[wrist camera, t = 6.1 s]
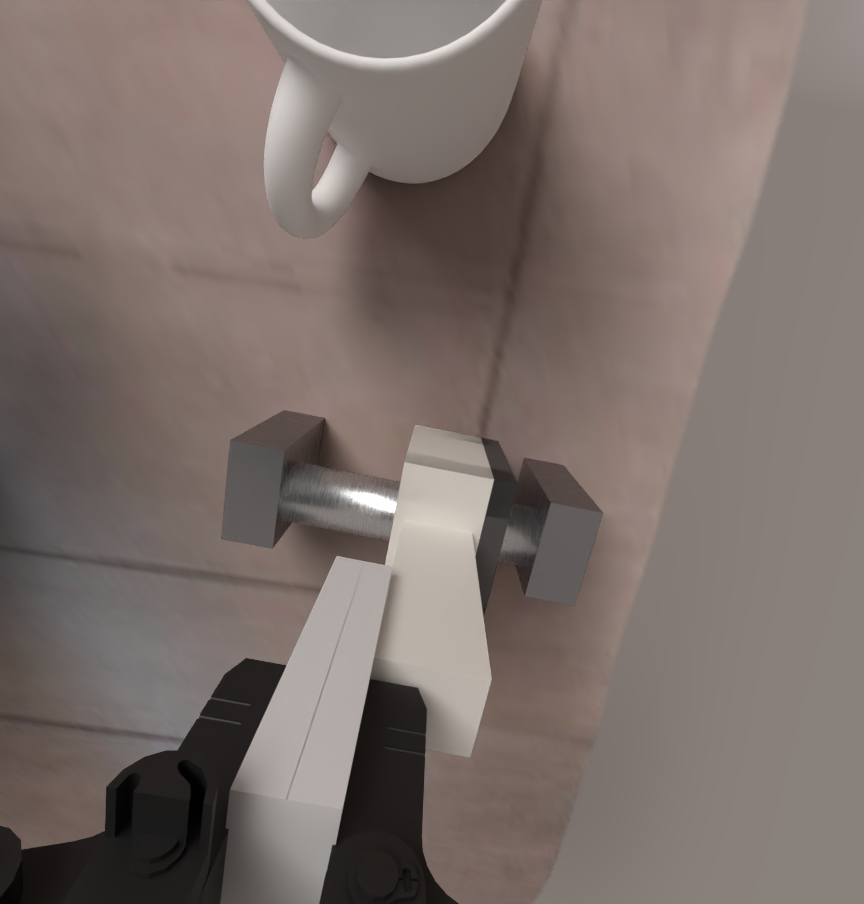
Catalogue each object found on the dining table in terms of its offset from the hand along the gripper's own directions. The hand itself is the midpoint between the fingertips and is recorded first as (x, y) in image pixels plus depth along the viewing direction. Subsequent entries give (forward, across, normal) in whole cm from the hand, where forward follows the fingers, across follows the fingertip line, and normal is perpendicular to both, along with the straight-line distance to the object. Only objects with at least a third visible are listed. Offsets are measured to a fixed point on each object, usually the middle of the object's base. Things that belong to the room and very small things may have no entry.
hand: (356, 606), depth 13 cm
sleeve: (+10, +2, 0) cm, 10 cm away
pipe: (+12, +1, 0) cm, 12 cm away
